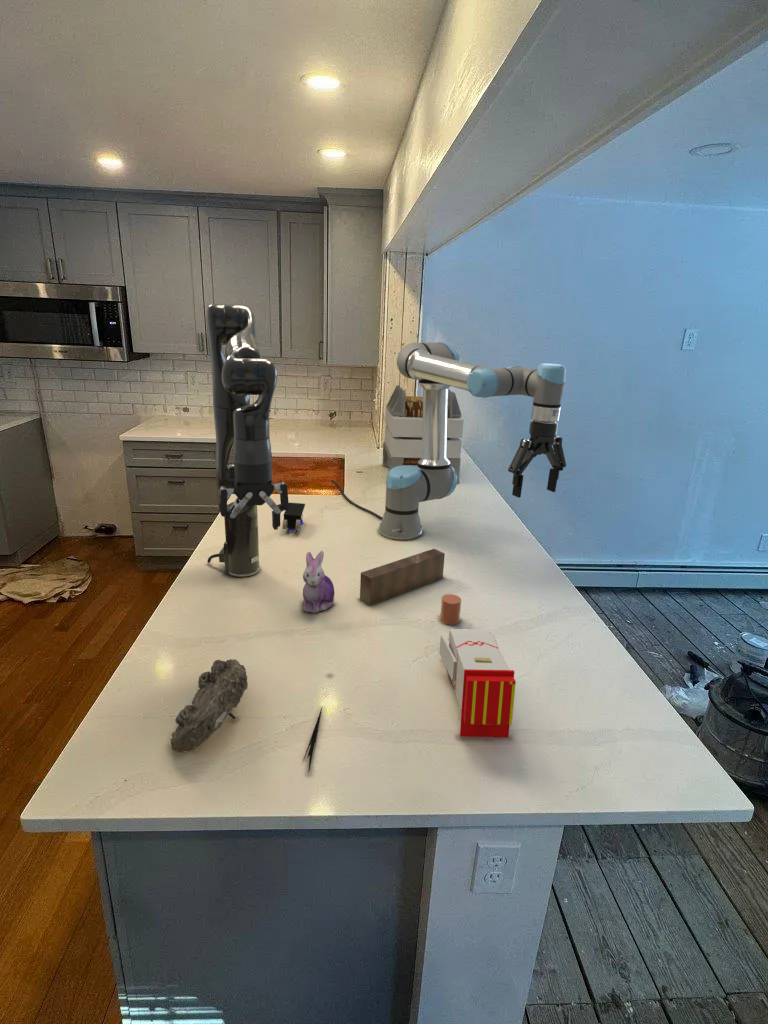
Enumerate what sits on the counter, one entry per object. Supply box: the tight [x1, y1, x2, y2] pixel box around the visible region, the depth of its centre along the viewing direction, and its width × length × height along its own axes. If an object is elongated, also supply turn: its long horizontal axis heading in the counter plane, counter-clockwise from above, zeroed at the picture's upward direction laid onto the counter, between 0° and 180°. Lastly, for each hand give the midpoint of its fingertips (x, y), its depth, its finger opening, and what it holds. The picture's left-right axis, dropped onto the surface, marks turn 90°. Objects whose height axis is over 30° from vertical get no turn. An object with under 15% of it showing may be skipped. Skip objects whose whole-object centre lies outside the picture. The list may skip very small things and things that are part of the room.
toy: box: [438, 628, 517, 738], centre depth 117 cm, size 12×13×30 cm
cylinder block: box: [439, 593, 462, 626], centre depth 145 cm, size 5×5×6 cm
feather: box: [301, 673, 332, 771], centre depth 108 cm, size 2×28×2 cm
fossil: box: [170, 658, 249, 753], centre depth 106 cm, size 22×10×15 cm
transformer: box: [381, 384, 464, 484], centre depth 268 cm, size 34×33×41 cm
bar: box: [359, 548, 446, 606], centre depth 160 cm, size 28×4×8 cm, turn 131°
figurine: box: [302, 550, 335, 613], centre depth 147 cm, size 9×10×15 cm
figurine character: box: [282, 502, 306, 535], centre depth 199 cm, size 7×8×15 cm
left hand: (255, 530), depth 122 cm, fingers open, 8 cm apart
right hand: (533, 493), depth 165 cm, fingers open, 13 cm apart
